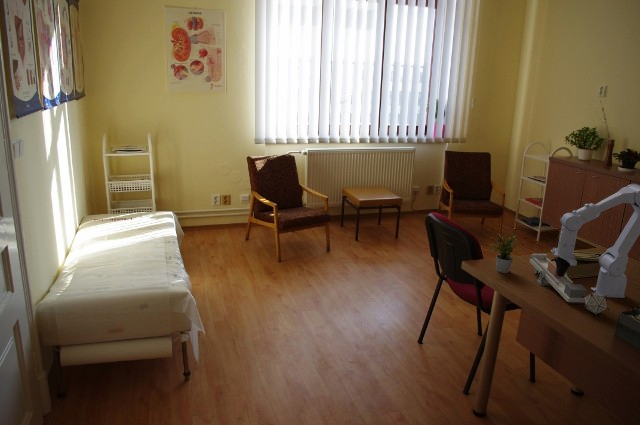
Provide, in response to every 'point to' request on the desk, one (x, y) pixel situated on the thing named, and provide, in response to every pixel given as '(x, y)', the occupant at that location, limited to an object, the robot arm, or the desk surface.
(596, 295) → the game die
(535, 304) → the desk surface
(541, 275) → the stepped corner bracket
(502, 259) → the house plant
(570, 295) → the beam
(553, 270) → the block
